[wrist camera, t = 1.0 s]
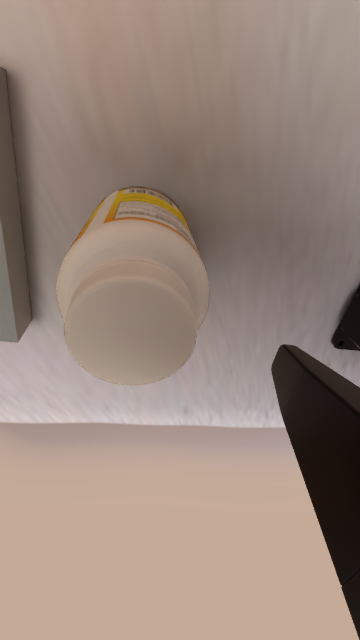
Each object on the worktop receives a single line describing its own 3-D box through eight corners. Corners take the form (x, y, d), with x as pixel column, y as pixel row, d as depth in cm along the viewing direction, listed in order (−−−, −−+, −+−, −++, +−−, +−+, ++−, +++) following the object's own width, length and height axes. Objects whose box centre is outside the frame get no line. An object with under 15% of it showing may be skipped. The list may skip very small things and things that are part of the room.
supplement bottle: (118, 291, 19) (92, 422, 11) (72, 207, 17) (-13, 293, 8) (200, 261, 19) (243, 373, 10) (167, 167, 16) (187, 213, 7)
